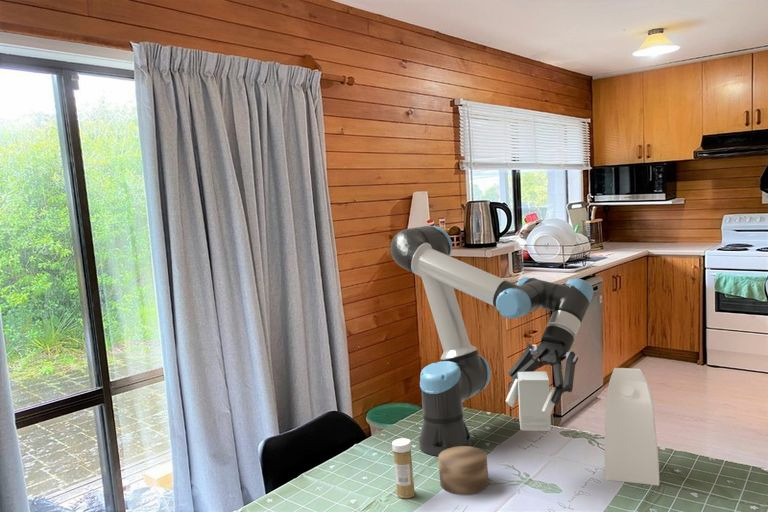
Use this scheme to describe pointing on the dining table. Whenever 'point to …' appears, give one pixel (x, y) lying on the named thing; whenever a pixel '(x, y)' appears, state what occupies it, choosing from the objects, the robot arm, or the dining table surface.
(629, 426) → the milk
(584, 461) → the dining table surface
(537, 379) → the supplement box
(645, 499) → the dining table surface
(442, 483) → the brown cylinder
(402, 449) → the sprinkles bottle
